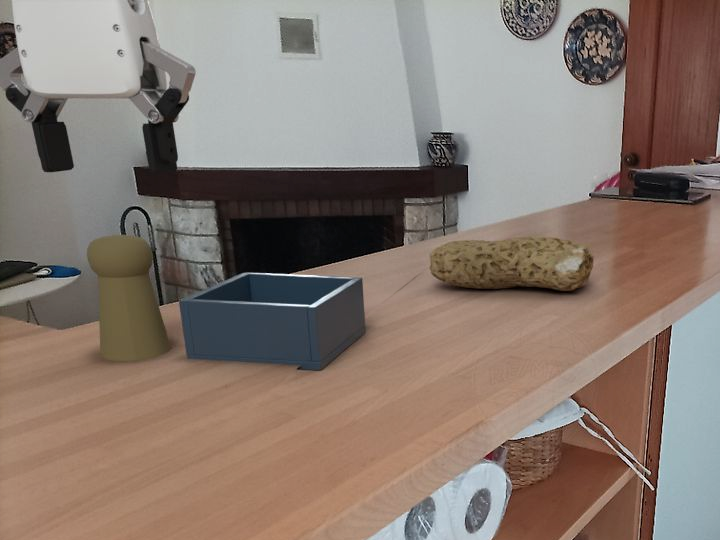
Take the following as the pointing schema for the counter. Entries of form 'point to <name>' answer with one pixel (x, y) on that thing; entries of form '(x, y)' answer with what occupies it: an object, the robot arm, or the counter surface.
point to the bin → (274, 319)
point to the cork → (127, 299)
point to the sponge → (513, 263)
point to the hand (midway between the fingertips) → (111, 171)
